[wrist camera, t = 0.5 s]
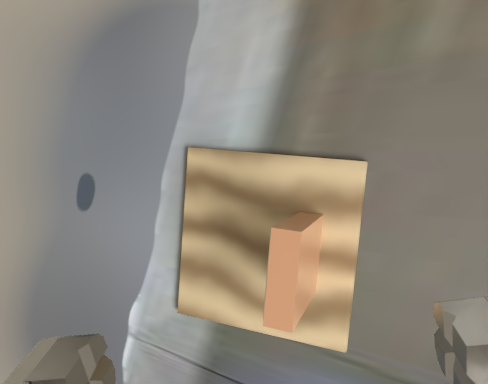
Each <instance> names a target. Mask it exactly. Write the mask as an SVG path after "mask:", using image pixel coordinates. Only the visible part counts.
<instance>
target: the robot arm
mask: <svg viewBox="0 0 488 384" xmlns="http://www.w3.org/2000/svg"><path fill="white" fill-rule="evenodd" d="M433 313H434V319H435V321H436V323H437V325H438V326H439V329H438V330H437V331H436V333H435V334H434V338H435V349H436V353H437V358H438V361H439V364H440V367H441V369H442V371H443V373H444V375H445V377H446V378H447V379H449V380H450V381H452V382H453V383H454V384H488V296H482V297H478V298H469V299H460V300H450V301H441V302H435V303H434V308H433ZM106 349H107V345H106V342H105V340H104V337H103V336H101V335H100V334H88V335H74V336H63V337H50V338H45V339H42V340H40V341H39V342H38V344H37V345H36V346H35V347H34V348H33V349H32V350H31V351H30V353H29V354H28V355H27V356H26V357H25V359H24V360H23V361H22V362H21V363H20V364H19V365H18V367H17V368H16V369H15V370H14V371H13V373H12V374H11V375H10V376H9V377H8V379H7V380H6V381H5V382H4V383H3V384H115V380H116V379H115V369H114V366H113V363H112V361H111V360H110V359H109V358H107V357H106V356H105V355H104V354H105V351H106Z"/></svg>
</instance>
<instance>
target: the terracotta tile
mask: <svg viewBox="0 0 488 384" xmlns="http://www.w3.org/2000/svg"><path fill="white" fill-rule="evenodd" d="M322 225H323V215H322V214H314V213H306V212H298V213H297V214H295V215H293V216H291V217H289V218H288V219H286V220H284V221H282V222H281V223H279V224H277V225H275V226H273V227H272V228H271V231H270V242H269V254H268V266H267V277H266V289H265V300H264V312H263V326H265V327H269V328H274V329H278V330H282V331H286V332H291V333H292V332H293V331H294V329H295V327H296V325H297V324H298V322H299V320H300V319H301V317H302V315H303V313H304V312H305V310H306V308H307V306H308V305H309V303H310V301H311V300H312V298H313V296H314V294H315V293H316V285H317V275H318V265H319V255H320V245H321V235H322Z"/></svg>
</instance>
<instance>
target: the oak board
mask: <svg viewBox="0 0 488 384" xmlns="http://www.w3.org/2000/svg"><path fill="white" fill-rule="evenodd" d="M367 163H368V162H366V161H353V160H341V159H329V158H316V157H304V156H292V155H279V154H267V153H255V152H242V151H230V150H218V149H205V148H193V147H188V156H187V171H186V187H185V203H184V219H183V235H182V251H181V266H180V282H179V298H178V313H181V314H185V315H189V316H193V317H197V318H202V319H206V320H210V321H214V322H219V323H223V324H227V325H231V326H235V327H240V328H244V329H248V330H252V331H256V332H261V333H265V334H269V335H273V336H277V337H282V338H286V339H290V340H294V341H299V342H303V343H307V344H311V345H315V346H320V347H324V348H328V349H332V350H336V351H341V352H345V353H346V351H347V344H348V335H349V326H350V317H351V308H352V299H353V290H354V281H355V272H356V263H357V254H358V245H359V235H360V226H361V217H362V208H363V199H364V190H365V181H366V172H367ZM298 212H306V213H314V214H322V215H323V225H322V235H321V245H320V255H319V265H318V275H317V285H316V293H315V294H314V296H313V298H312V300H311V301H310V303H309V305H308V306H307V308H306V310H305V312H304V313H303V315H302V317H301V319H300V320H299V322H298V324H297V325H296V327H295V329H294V331H293V332H292V333H291V332H286V331H282V330H278V329H274V328H269V327H265V326H263V312H264V300H265V289H266V277H267V266H268V254H269V242H270V231H271V228H272V227H273V226H275V225H277V224H279V223H281V222H282V221H284V220H286V219H288V218H289V217H291V216H293V215H295V214H297V213H298Z"/></svg>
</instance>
